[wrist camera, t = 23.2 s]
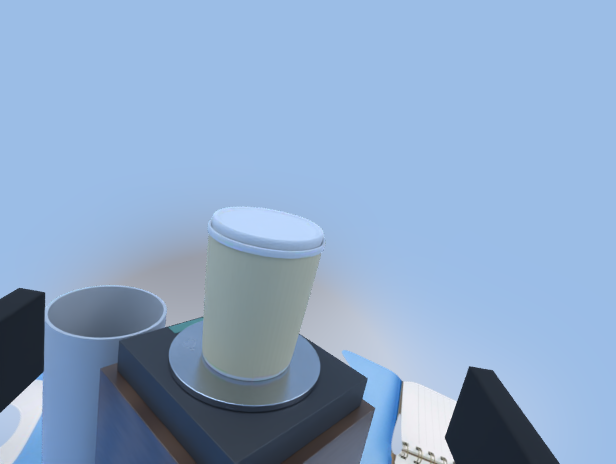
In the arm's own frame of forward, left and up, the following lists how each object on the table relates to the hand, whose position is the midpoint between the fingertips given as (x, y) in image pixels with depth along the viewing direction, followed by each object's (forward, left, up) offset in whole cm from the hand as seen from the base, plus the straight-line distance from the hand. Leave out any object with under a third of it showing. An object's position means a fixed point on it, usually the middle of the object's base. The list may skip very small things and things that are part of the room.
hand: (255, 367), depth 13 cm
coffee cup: (+14, -14, -13) cm, 24 cm away
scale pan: (+14, -14, -13) cm, 24 cm away
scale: (+14, -14, -16) cm, 26 cm away
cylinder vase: (+34, -11, -43) cm, 56 cm away
